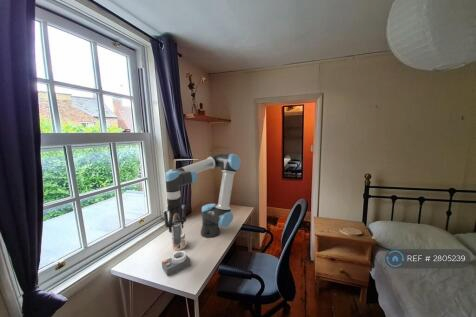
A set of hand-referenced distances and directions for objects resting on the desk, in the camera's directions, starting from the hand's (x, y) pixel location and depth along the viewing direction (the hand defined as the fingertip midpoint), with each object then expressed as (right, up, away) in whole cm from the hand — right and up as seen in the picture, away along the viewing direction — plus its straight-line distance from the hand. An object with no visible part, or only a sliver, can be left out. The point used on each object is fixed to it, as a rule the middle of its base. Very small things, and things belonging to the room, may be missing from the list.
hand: (176, 235), depth 115 cm
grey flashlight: (0, -4, +1) cm, 4 cm away
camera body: (-1, -20, +2) cm, 20 cm away
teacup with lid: (-4, -17, +21) cm, 27 cm away
